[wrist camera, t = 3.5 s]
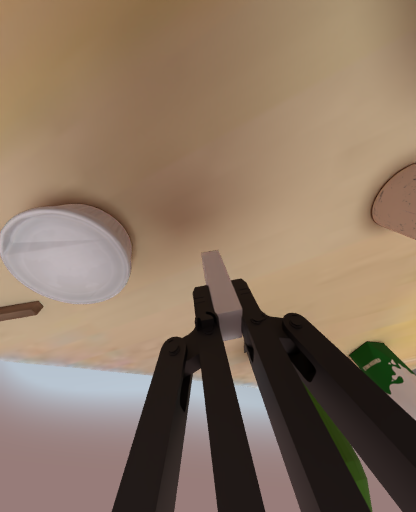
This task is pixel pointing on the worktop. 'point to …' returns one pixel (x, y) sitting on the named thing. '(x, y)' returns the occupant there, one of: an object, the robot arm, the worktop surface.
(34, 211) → the ramekin
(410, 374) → the milk carton
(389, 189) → the teacup with lid
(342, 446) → the wine bottle
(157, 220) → the worktop surface
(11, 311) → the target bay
